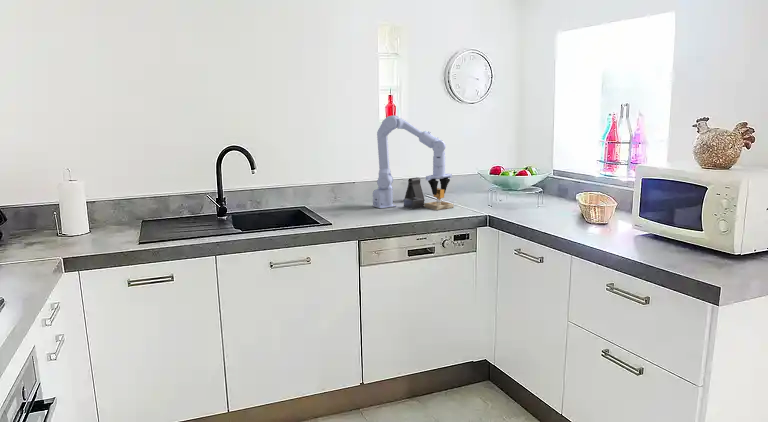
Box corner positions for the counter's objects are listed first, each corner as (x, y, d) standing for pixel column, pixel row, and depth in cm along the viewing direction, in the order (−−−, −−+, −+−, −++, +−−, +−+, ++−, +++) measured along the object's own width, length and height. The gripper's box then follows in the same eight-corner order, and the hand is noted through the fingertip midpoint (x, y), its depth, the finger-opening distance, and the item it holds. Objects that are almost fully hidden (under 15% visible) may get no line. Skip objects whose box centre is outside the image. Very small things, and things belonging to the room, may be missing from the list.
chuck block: (412, 209, 274) (412, 200, 273) (403, 207, 279) (403, 198, 278) (424, 207, 277) (424, 199, 277) (415, 205, 283) (415, 197, 282)
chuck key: (433, 205, 278) (433, 188, 276) (437, 205, 279) (437, 187, 278) (440, 207, 274) (440, 189, 272) (444, 206, 275) (444, 189, 274)
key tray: (437, 210, 270) (437, 206, 270) (424, 207, 278) (424, 203, 278) (453, 207, 275) (453, 203, 275) (440, 204, 284) (440, 200, 283)
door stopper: (404, 200, 296) (403, 177, 294) (412, 199, 300) (411, 176, 298) (416, 202, 290) (416, 179, 288) (424, 201, 294) (424, 178, 292)
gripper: (432, 167, 266) (432, 196, 268) (456, 165, 274) (455, 193, 276) (423, 166, 271) (423, 194, 274) (446, 164, 279) (446, 191, 282)
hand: (438, 194), depth 275 cm, fingers open, 5 cm apart
